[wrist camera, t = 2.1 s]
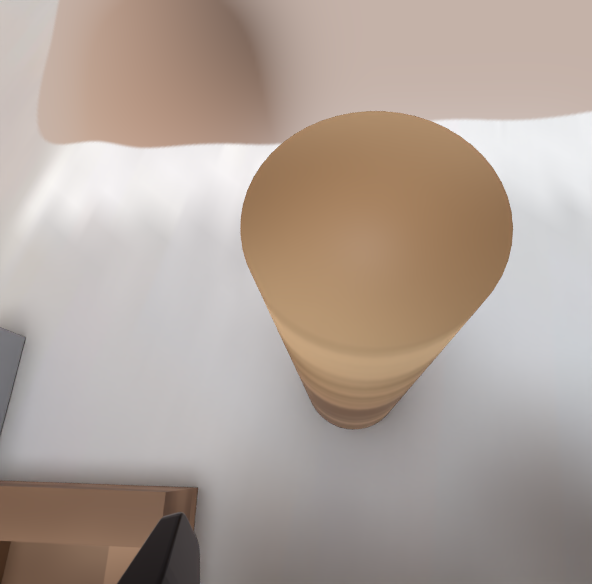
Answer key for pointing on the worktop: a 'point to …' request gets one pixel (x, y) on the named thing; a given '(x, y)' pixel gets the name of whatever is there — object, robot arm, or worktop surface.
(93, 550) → the socket block
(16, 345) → the backstop wall
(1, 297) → the worktop surface
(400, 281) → the dowel
